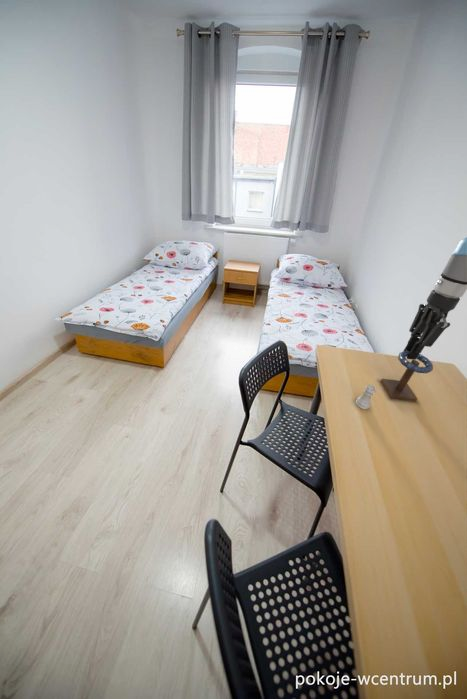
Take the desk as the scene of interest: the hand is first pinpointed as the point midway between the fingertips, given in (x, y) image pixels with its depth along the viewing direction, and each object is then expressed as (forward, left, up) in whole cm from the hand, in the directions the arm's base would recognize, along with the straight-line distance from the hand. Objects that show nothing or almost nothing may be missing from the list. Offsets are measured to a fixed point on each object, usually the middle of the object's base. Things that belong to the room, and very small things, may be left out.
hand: (408, 355), depth 96 cm
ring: (0, +4, +1) cm, 4 cm away
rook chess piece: (+16, +13, -13) cm, 25 cm away
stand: (0, +4, -13) cm, 14 cm away
